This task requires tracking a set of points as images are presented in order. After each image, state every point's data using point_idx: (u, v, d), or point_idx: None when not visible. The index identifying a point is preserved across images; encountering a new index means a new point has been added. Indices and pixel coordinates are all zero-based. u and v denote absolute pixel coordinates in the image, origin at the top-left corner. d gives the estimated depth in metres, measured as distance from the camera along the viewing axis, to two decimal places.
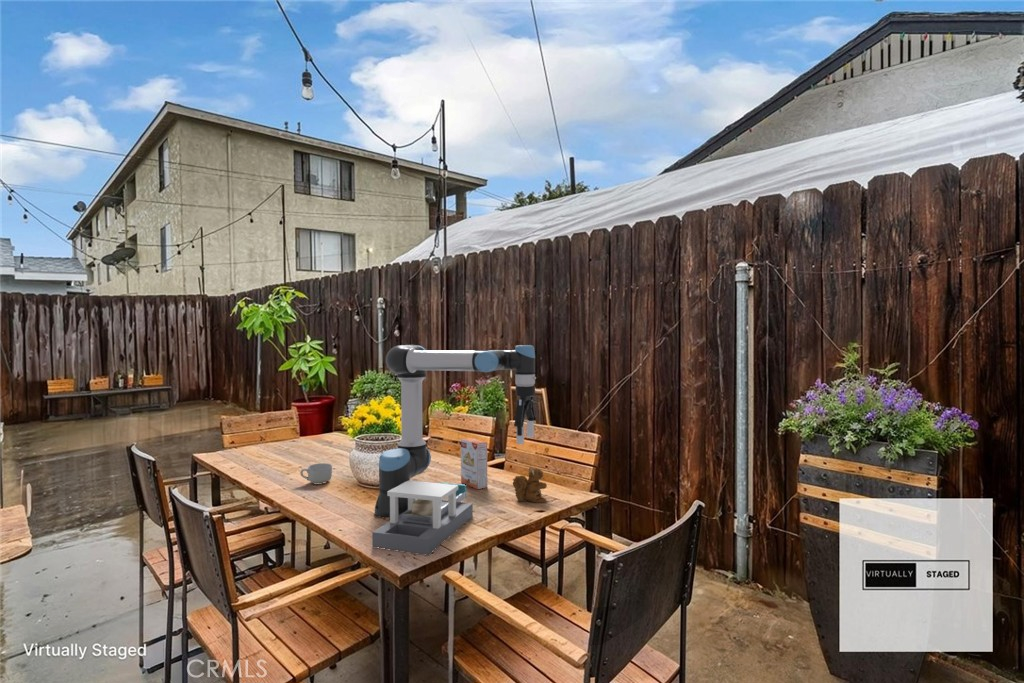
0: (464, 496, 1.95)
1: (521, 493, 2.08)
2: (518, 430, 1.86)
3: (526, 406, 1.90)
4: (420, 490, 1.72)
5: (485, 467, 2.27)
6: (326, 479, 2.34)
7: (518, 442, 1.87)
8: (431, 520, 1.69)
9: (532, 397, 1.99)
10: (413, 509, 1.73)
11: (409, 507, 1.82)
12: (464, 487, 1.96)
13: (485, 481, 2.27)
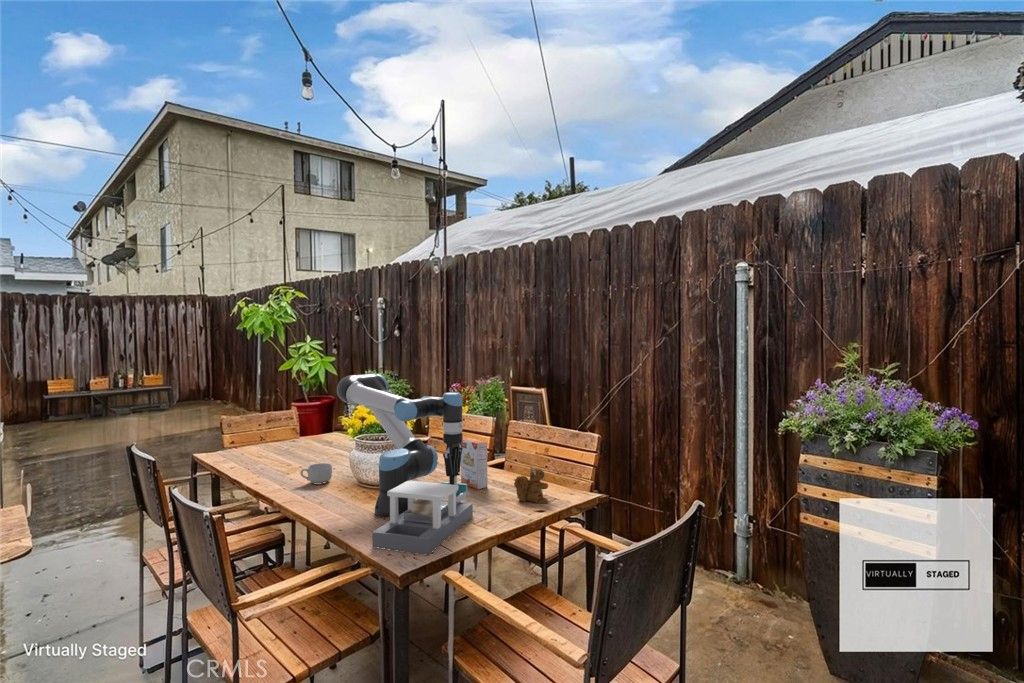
0: (465, 495, 1.96)
1: (522, 493, 2.07)
2: (450, 480, 1.96)
3: (454, 455, 1.95)
4: (420, 490, 1.72)
5: (485, 467, 2.27)
6: (326, 479, 2.34)
7: None
8: (432, 519, 1.70)
9: (461, 448, 2.02)
10: (413, 509, 1.73)
11: (409, 507, 1.82)
12: (465, 486, 1.97)
13: (485, 481, 2.27)
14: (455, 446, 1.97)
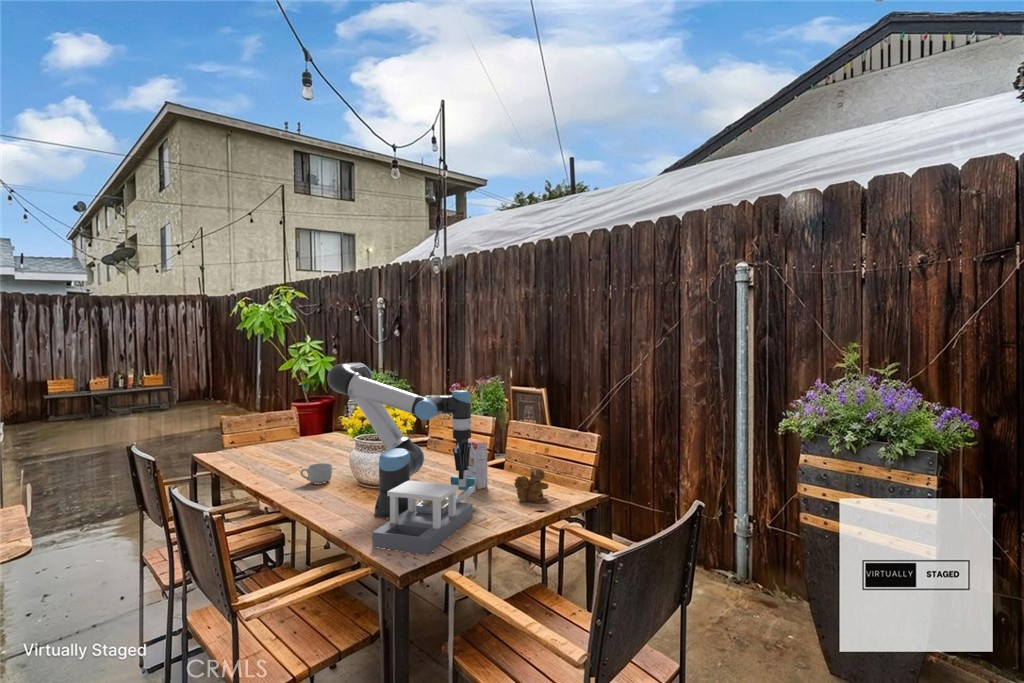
0: (473, 489, 2.04)
1: (523, 494, 2.07)
2: (459, 474, 2.04)
3: (463, 450, 2.04)
4: (420, 490, 1.72)
5: (485, 467, 2.27)
6: (326, 479, 2.34)
7: (460, 485, 2.05)
8: (443, 511, 1.78)
9: (470, 443, 2.11)
10: (424, 502, 1.80)
11: (409, 507, 1.82)
12: (473, 480, 2.05)
13: (485, 481, 2.27)
14: (464, 442, 2.05)
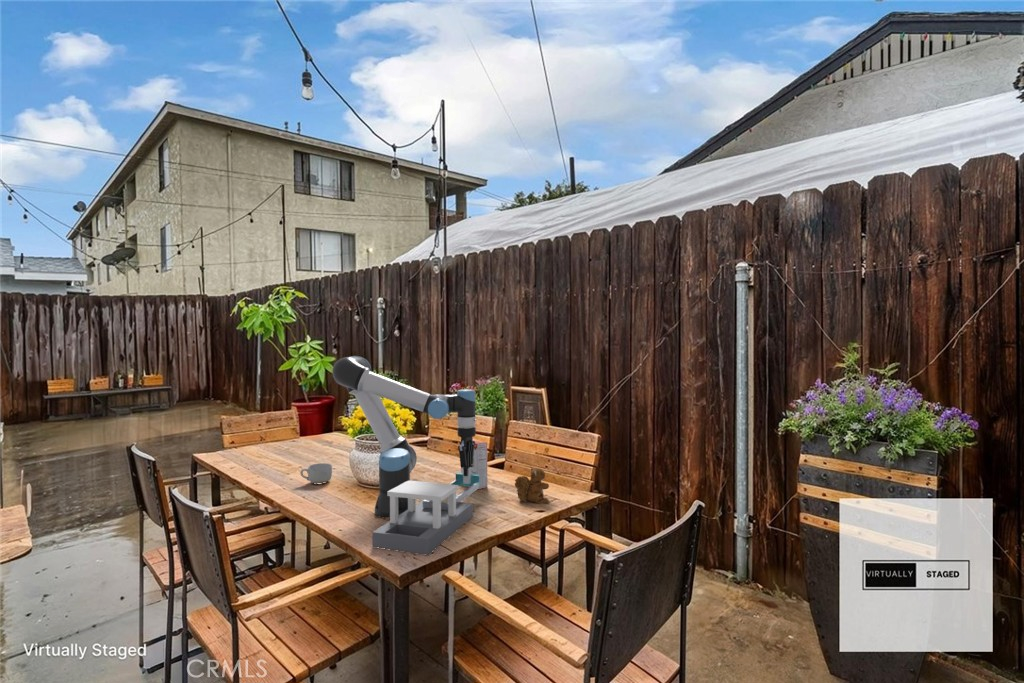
0: (478, 486, 2.09)
1: (523, 494, 2.07)
2: (464, 471, 2.09)
3: (467, 448, 2.08)
4: (420, 490, 1.72)
5: (485, 467, 2.27)
6: (326, 479, 2.34)
7: (464, 482, 2.10)
8: None
9: (474, 441, 2.15)
10: None
11: (409, 507, 1.82)
12: (478, 477, 2.10)
13: (485, 481, 2.27)
14: (469, 439, 2.10)
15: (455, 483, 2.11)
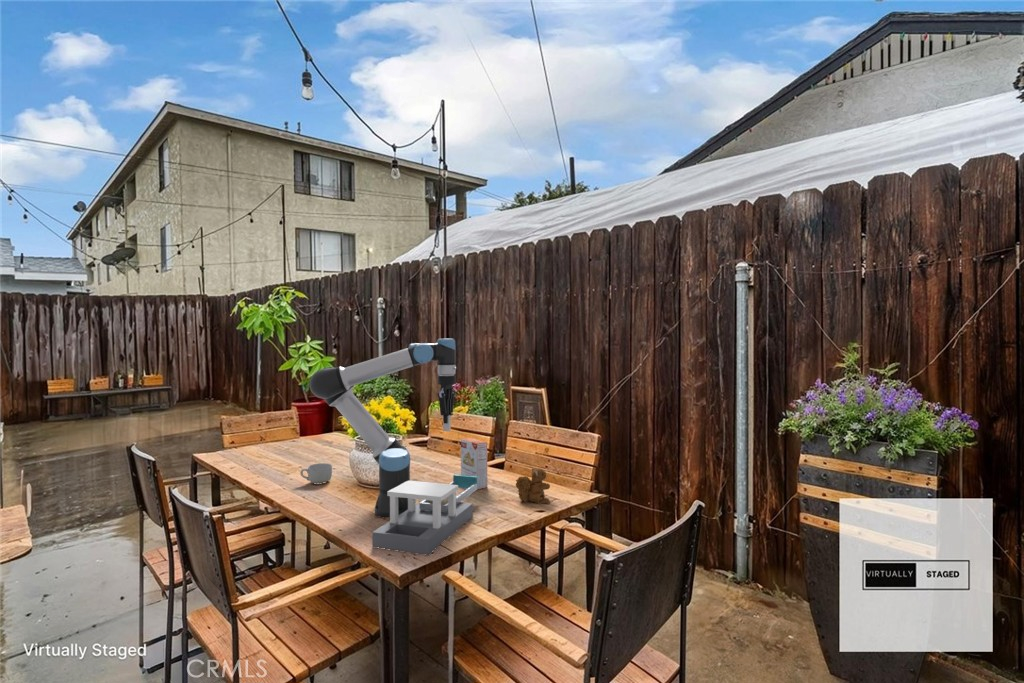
0: (476, 487, 2.07)
1: (524, 494, 2.06)
2: (444, 418, 2.12)
3: (447, 395, 2.11)
4: (420, 490, 1.72)
5: (485, 467, 2.27)
6: (326, 479, 2.34)
7: (444, 429, 2.13)
8: (447, 508, 1.80)
9: (454, 390, 2.18)
10: None
11: (409, 507, 1.82)
12: (476, 478, 2.08)
13: (485, 481, 2.27)
14: (449, 387, 2.13)
15: None
